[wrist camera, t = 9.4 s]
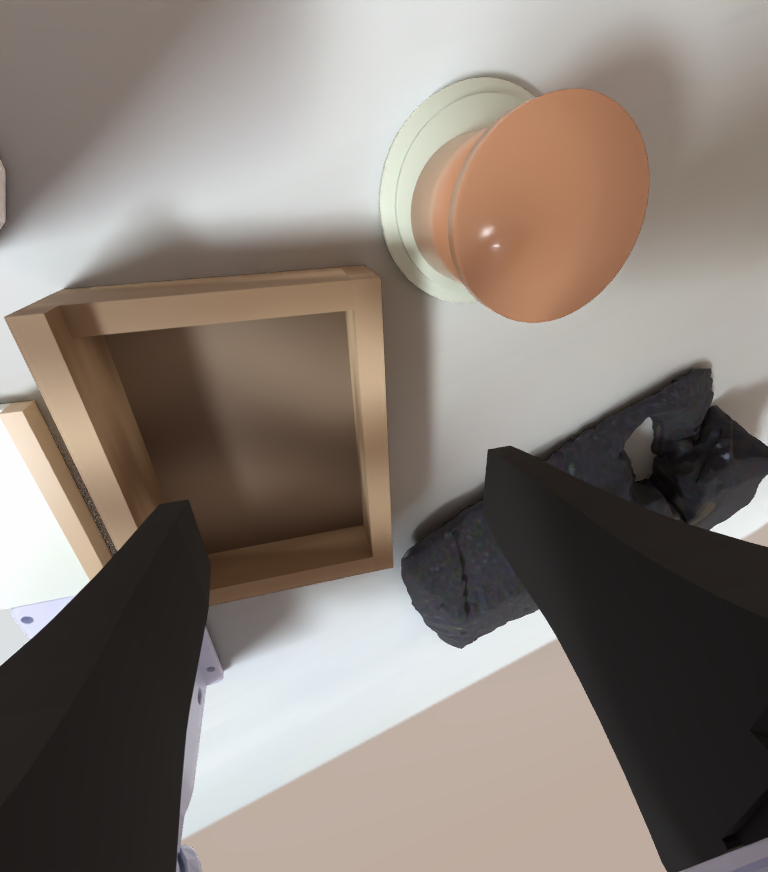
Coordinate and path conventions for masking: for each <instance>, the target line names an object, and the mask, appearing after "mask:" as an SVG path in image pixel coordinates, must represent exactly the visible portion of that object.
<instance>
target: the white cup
mask: <svg viewBox="0 0 768 872" xmlns="http://www.w3.org/2000/svg"><path fill="white" fill-rule="evenodd" d="M5 221H6V172H5V169H4V166H3V164H2V162H1V160H0V229H1V228H2V226H3V225H4V223H5Z"/></svg>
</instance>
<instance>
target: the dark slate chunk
mask: <svg viewBox="0 0 768 872" xmlns="http://www.w3.org/2000/svg"><path fill="white" fill-rule="evenodd" d="M710 376H711V369H710V368H709V369H692V370H691V371H690V373H689V374H688V375H681V376H679V377H677V378H675V379H674V380H673V381H672V383H671V384H670V385H668V386H666V387H665V388H663V389H662V390H661V391H660V392H659V393H657V394H655V395H653V396H649V397H646V398H644V399H643V400H642V401H640V402H639V403H636V404H633V405H631V406H630V407H627V408H625V409H623V410H621V411H619V412H617V413H615V414H613V415H611V416H609V417H608V418H606V419H605V420H603V421H602V422H600V423H599V424H598V425H597V426H596V427H593V428H590V429H588V430H585V431H583V432H582V434H581V435H580V436H579V437H577V438H576V439H572V438H570V440H569V441H568V442H566V443H565V444H564V445H563V446H562V447H561V448H560V449H559V450H558V451H557V452H556V453H554V454H553V455H552V456H551V457H550V458H549V459H548V460H547V461H546V463H548V464H550V465H552V466H554V467H556V468H558V469H560V470H562V471H564V472H566V473H568V474H570V475H572V476H574V477H576V478H578V479H581V480H583V481H585V482H587V483H589V484H591V485H593V486H595V487H597V488H600V489H602V490H604V491H606V492H608V493H611V494H613V495H615V496H618V497H620V498H622V499H625V500H627V501H629V502H632V503H634V504H636V505H639V506H641V507H644V508H646V509H649V510H651V511H654V512H657V513H660V514H662V515H665V516H668V517H671V518H673V519H676V520H679V521H682V522H685V523H687V524H690V525H693V526H697V527H700V528H703V529H706V530H710V529H711V528H713V527H714V526H715V525H717V524H719V523H721V522H723V521H725V520H727V519H728V518H730V517H731V516H732V515H734V514H735V513H736V512H737V511H739V510H740V509H741V508H743V507H745V506H746V505H748V504H749V503H750V502H751V500H752V499H753V498H754V495H755V493H756V490H757V488H758V485H759V484H760V482H761V481H762V479H763V478H764V477H765V476H766V475H768V446H766V445H765V444H764V443H762V442H761V441H760V440H758V439H757V438H755V437H753V436H752V435H750V434H749V433H748V432H747V431H746V430H745V429H744V428H743V427H741V426H740V425H739V424H738V423H737V422H736V421H734V420H732V419H731V418H730V417H729V416H728V415H727V414H726V413H724V412H723V411H722V410H721V409H720V408H719V407H718V406H716V405H715V406H712V407H709V406H710V404H711V402H712V399H713V395H714V393H713V392H712V390H711V387H712V383H713V380H712V378H711V377H710ZM648 417H650V418H651V419H652V422H653V425H652V428H653V430H654V439H653V442H652V445H651V451H652V453H654V454H655V455H657V456H656V457H655V458H654V461H653V474H652V475H651V476H650V478H649V479H646V478H645V479H644V480H642V481H636V482H635V478H636V475H635V474H634V471H633V468H632V467H631V461H630V459H629V457H628V456H627V454H626V453H625V452H624V450H623V449H624V445H625V442H626V440H627V439H628V438H629V437H630V435H631V434H632V433H633V431H634V430H635V429H636V428H637V427H638V426H640V425H641V424H642V423H643V422H644V420H645V419H646V418H648ZM482 507H483V499H482V500H481V501H480V502H478V503H476V504H474V505H471V506H469V507H467V508H465V509H464V510H462V511H461V512H460V513H459V514H458V515H457V516H456V517H455V518H453V519H451V520H450V521H449V522H448V523H445V524H444V525H443V526H442V527H441V528H439V529H437V530H436V531H434V532H432V533H431V534H429V535H428V536H426V537H425V538H424V539H422V540H421V541H420V542H418V543H417V544H416V545H414V546H413V547H411V548H410V549H409V550H408V551H407V552H406V553H405V555H404V556H403V558H402V559H401V566H402V570H401V575H402V579H403V582H404V584H405V586H406V587H407V591H408V594H409V595H410V597H411V599H412V605H413V606H414V607H415V609H416V610H417V611H418V612H419V613H420V614H421V616H422V617H423V620H424V622H425V624H426V625H427V626H428V627H430V628H431V629H432V630H433V631H435V632H436V633H438V634H437V635H438V636H439V638H440V639H442V640H443V641H444V642H446V643H448V644H450V645H452V646H454V647H457V648H461V649H462V648H464V647H465V646H466V645H468V644H470V643H472V642H473V641H475V640H477V638H479V637H481V636H483V635H485V634H488V633H490V632H492V631H494V630H495V629H496V628H498V627H500V626H503V625H506V623H507V622H508V621H512V620H515V619H518V618H521V617H523V616H525V615H528V614H531V613H533V612H535V611H537V610H538V609H539V608H538V606H537V605H536V603H535V602H534V600H533V599H532V597H531V596H530V594H529V593H528V591H527V590H526V588H525V587H524V585H523V584H522V582H521V581H520V579H519V578H518V576H517V575H516V573H515V572H514V570H513V568H512V567H511V565H510V564H509V562H508V561H507V559H506V558H505V556H504V555H503V553H502V551H501V550H500V548H499V547H498V545H497V543H496V541H495V539H494V537H493V535H492V533H491V531H490V529H489V527H488V524H487V522H486V520H485V518H484V516H483V513H482Z"/></svg>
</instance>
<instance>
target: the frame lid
mask: <svg viewBox="0 0 768 872" xmlns="http://www.w3.org/2000/svg"><path fill="white" fill-rule="evenodd" d="M111 558H112V556H111V554H110V551H109V549H108V547H107V545H106V543H105V541H104V539H103V537H102V535H101V533H100V531H99V529H98V527H97V525H96V523H95V521H94V519H93V517H92V515H91V513H90V511H89V509H88V507H87V505H86V503H85V501H84V499H83V497H82V495H81V493H80V491H79V489H78V487H77V485H76V483H75V481H74V479H73V477H72V475H71V473H70V471H69V469H68V467H67V465H66V463H65V461H64V459H63V457H62V455H61V453H60V451H59V449H58V447H57V445H56V443H55V441H54V439H53V437H52V435H51V433H50V431H49V429H48V427H47V425H46V423H45V421H44V419H43V417H42V415H41V413H40V411H39V409H38V407H37V405H36V403H35V401H34V400H32V401H24V402H16V403H8V404H0V610H3V609H8V608H13V607H18V606H23V605H29V604H34V603H39V602H44V601H49V600H54V599H59V598H64V597H70V596H75V595H77V594H78V593H79V592H80V591H81V590H82V589H83V588H84V587H85V586H86V585H87V584H88V583H89V582H90V581H91V580H92V579H93V578H94V577H95V576H96V574H97V573H98V572H99V571H100V570H101V569H102V568H103V567H104V566H105V565H106V564H107V562H108V561H109V560H110V559H111Z"/></svg>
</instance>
